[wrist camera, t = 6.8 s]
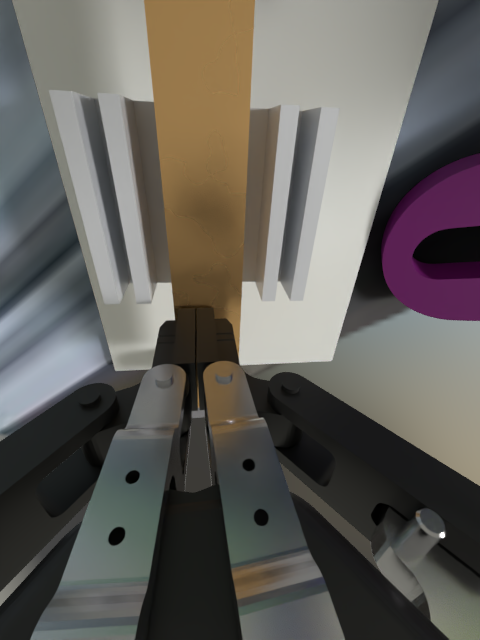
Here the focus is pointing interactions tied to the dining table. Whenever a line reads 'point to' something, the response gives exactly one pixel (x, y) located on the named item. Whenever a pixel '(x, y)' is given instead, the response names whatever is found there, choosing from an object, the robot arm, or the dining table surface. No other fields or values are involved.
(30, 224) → the dining table surface
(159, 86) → the wooden strip
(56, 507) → the robot arm
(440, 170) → the mounting bracket
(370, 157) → the board
